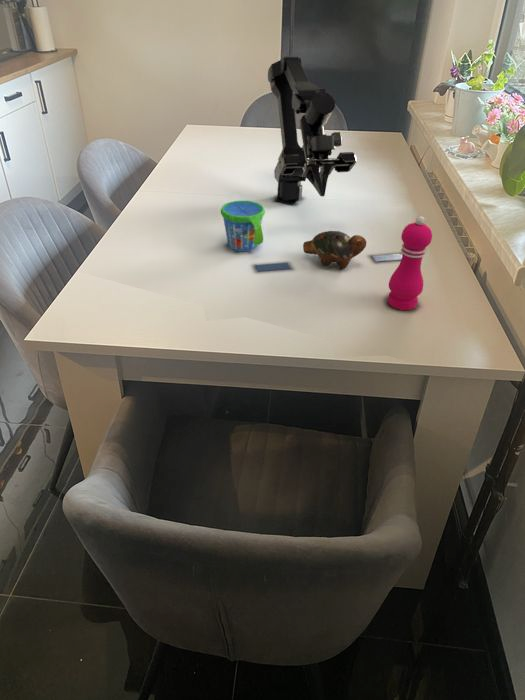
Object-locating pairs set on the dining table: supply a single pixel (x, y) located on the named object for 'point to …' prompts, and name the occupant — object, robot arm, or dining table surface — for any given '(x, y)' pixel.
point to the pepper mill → (410, 266)
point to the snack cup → (243, 224)
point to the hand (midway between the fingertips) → (322, 195)
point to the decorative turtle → (335, 247)
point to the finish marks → (285, 266)
